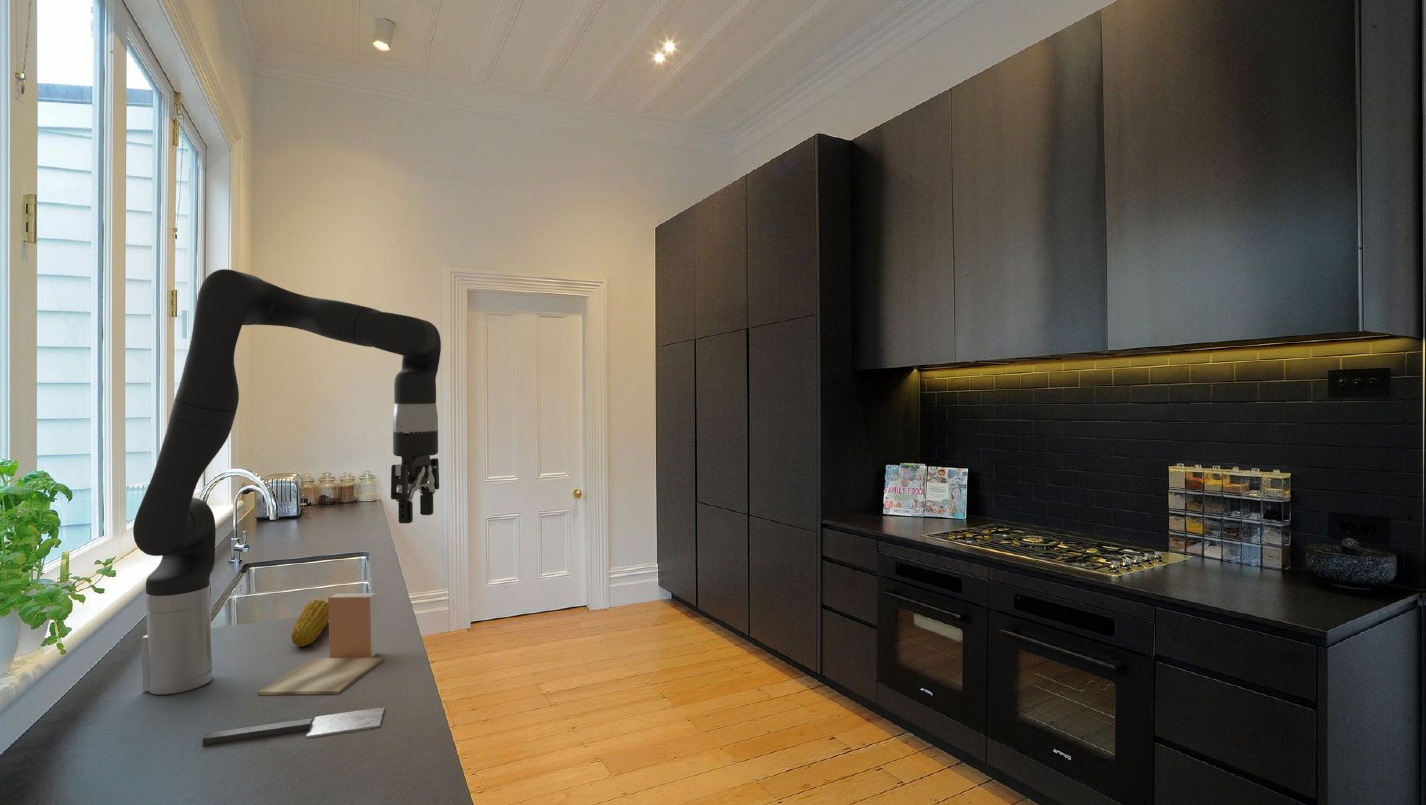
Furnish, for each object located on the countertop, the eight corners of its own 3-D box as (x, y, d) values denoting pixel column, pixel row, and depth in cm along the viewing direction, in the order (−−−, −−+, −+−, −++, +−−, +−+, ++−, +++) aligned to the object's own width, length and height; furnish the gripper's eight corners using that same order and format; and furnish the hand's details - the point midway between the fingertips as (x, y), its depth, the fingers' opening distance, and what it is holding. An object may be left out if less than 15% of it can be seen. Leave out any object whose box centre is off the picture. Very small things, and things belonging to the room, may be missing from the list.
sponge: (329, 658, 143) (328, 597, 142) (338, 653, 146) (336, 593, 145) (370, 658, 142) (368, 597, 142) (377, 653, 145) (376, 593, 145)
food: (305, 624, 166) (304, 598, 166) (332, 621, 168) (332, 595, 168) (287, 654, 146) (286, 624, 146) (318, 650, 148) (318, 621, 148)
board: (257, 694, 126) (257, 691, 126) (311, 660, 142) (311, 658, 142) (337, 693, 125) (337, 690, 125) (382, 659, 141) (382, 657, 141)
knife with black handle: (196, 754, 105) (196, 746, 105) (213, 733, 111) (212, 725, 111) (379, 727, 112) (379, 719, 112) (384, 709, 119) (384, 701, 119)
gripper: (413, 427, 139) (413, 512, 139) (375, 431, 124) (376, 525, 125) (452, 427, 138) (452, 512, 139) (418, 430, 124) (419, 525, 124)
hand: (416, 518), depth 132 cm, fingers open, 8 cm apart
